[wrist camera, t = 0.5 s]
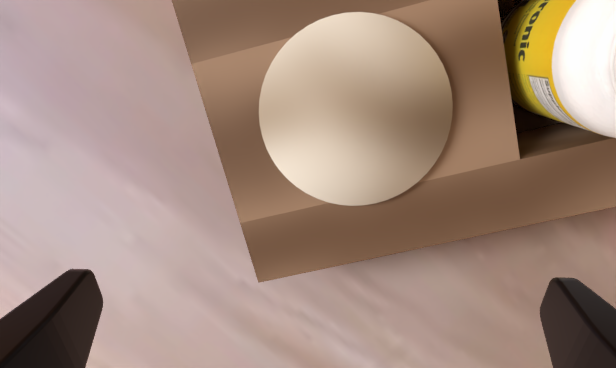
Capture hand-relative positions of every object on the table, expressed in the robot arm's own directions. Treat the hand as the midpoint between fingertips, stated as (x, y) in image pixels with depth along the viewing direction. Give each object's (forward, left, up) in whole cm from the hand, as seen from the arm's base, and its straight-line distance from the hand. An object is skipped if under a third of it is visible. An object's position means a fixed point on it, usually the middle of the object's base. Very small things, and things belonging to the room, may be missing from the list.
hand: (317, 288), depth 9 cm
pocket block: (+2, -6, -14) cm, 15 cm away
